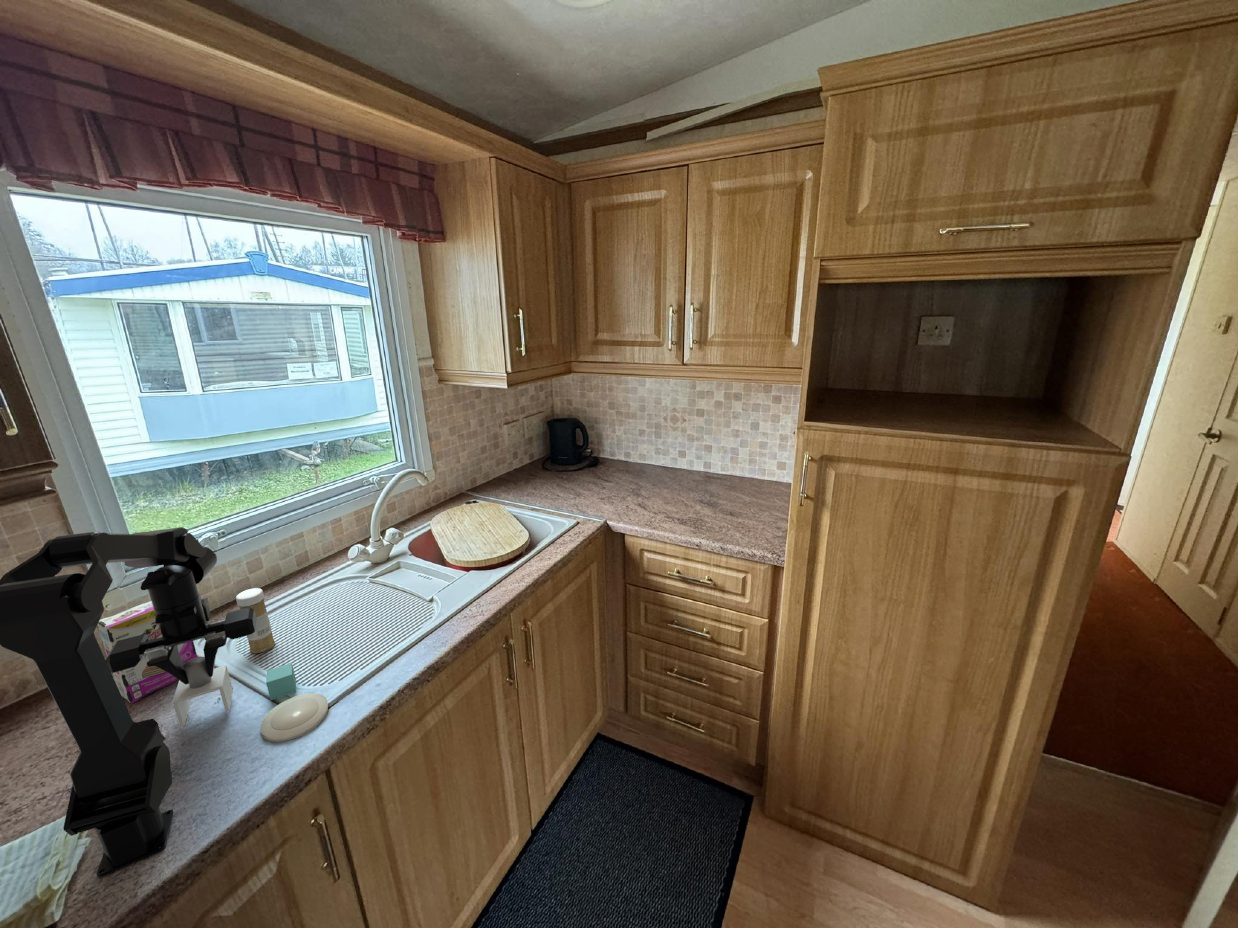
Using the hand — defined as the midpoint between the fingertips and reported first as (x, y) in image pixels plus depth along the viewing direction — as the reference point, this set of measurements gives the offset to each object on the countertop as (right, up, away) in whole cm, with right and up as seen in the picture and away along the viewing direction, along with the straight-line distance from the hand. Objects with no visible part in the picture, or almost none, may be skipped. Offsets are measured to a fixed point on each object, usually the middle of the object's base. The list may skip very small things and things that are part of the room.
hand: (199, 678), depth 85 cm
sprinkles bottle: (-4, -2, +20) cm, 21 cm away
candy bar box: (-16, -5, +10) cm, 20 cm away
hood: (0, -6, +2) cm, 6 cm away
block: (+9, -6, +8) cm, 13 cm away
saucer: (+16, -7, +1) cm, 18 cm away
